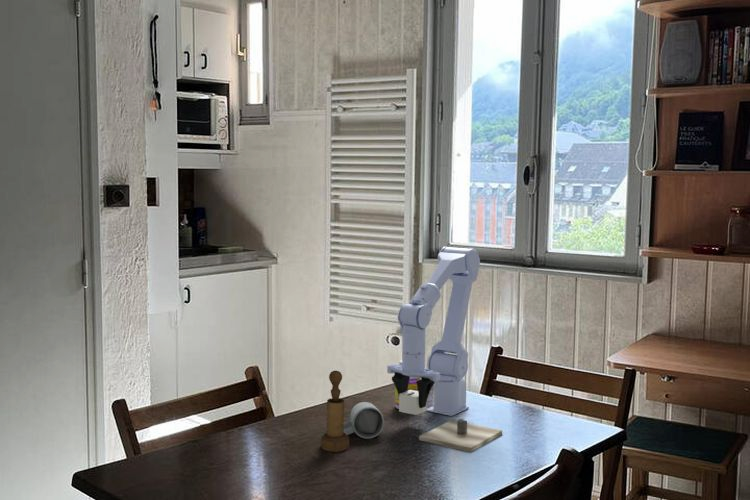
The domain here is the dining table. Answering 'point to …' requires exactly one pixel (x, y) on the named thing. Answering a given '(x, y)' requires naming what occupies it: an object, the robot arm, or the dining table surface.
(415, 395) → the white cabinet with handle
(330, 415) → the mortar and pestle
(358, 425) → the ceramic mug
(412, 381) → the supplement bottle
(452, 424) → the board
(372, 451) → the dining table surface
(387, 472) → the dining table surface
